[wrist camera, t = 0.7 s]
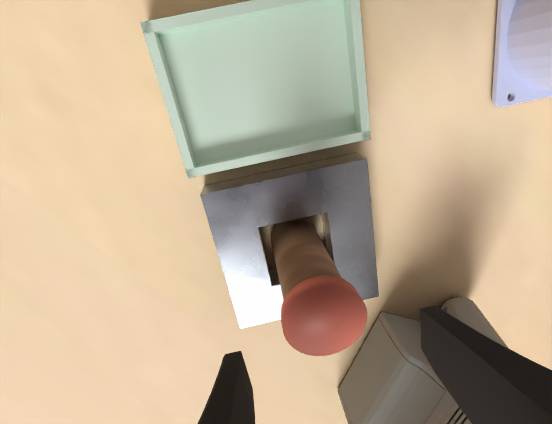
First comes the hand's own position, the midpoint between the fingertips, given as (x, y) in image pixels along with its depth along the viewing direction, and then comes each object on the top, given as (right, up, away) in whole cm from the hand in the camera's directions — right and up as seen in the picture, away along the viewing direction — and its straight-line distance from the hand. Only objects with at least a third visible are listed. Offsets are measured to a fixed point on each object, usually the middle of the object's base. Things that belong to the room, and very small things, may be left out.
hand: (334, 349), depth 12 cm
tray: (-3, +13, +6) cm, 14 cm away
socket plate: (-1, +4, +10) cm, 10 cm away
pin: (-1, +4, +10) cm, 10 cm away
